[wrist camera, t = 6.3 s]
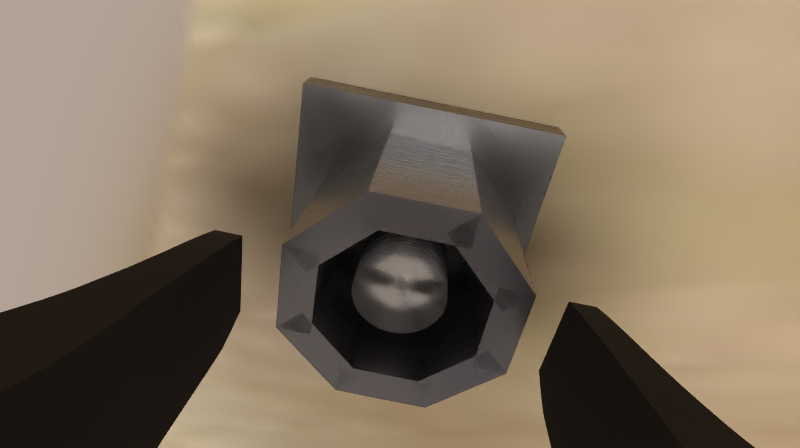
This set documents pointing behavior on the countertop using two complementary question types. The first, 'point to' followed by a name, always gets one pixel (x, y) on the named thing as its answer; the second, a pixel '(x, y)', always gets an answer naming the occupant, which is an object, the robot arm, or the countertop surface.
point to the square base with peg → (392, 114)
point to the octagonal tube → (421, 218)
